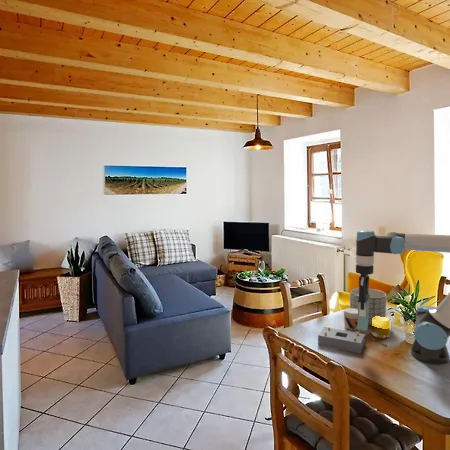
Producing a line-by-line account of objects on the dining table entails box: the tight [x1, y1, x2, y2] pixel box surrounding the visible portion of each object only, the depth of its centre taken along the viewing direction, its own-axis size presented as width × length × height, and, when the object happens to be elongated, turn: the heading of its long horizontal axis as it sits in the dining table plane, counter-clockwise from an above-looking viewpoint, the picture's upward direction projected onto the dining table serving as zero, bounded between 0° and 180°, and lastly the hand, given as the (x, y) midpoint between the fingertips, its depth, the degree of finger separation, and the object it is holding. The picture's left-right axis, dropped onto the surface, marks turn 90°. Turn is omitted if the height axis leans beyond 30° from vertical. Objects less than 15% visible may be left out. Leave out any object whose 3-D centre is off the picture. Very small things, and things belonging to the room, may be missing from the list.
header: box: [317, 326, 366, 354], centre depth 176 cm, size 20×12×6 cm, turn 60°
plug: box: [357, 294, 370, 331], centre depth 163 cm, size 5×5×16 cm
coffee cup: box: [343, 307, 361, 333], centre depth 190 cm, size 9×9×12 cm
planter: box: [349, 287, 387, 327], centre depth 202 cm, size 19×19×18 cm
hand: (363, 314), depth 163 cm, fingers closed on plug, 4 cm apart
